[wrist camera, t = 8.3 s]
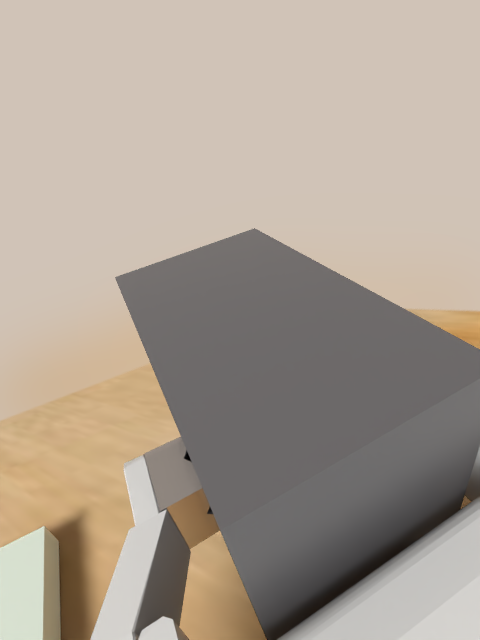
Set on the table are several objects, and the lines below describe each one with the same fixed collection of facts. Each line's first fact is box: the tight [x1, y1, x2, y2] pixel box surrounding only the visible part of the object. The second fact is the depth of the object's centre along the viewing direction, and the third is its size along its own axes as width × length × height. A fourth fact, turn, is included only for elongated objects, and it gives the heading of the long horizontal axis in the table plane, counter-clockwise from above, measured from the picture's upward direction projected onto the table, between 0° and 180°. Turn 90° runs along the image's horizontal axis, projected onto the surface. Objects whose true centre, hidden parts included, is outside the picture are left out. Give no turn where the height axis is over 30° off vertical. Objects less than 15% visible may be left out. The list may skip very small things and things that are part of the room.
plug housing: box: [116, 229, 480, 640], centre depth 10 cm, size 4×7×10 cm, turn 26°
